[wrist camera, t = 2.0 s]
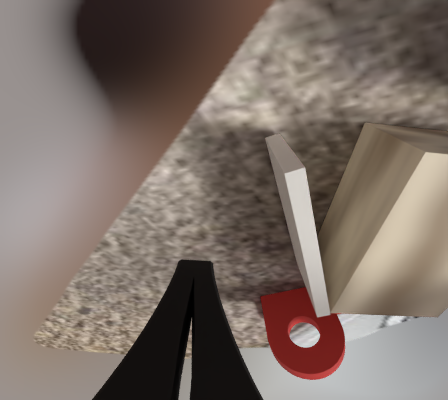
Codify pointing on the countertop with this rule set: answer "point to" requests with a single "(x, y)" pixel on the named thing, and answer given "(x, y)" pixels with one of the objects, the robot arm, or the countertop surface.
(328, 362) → the bracket
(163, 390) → the robot arm
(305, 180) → the door
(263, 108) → the countertop surface
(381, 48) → the countertop surface
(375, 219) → the cream rectangular block
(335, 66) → the countertop surface
